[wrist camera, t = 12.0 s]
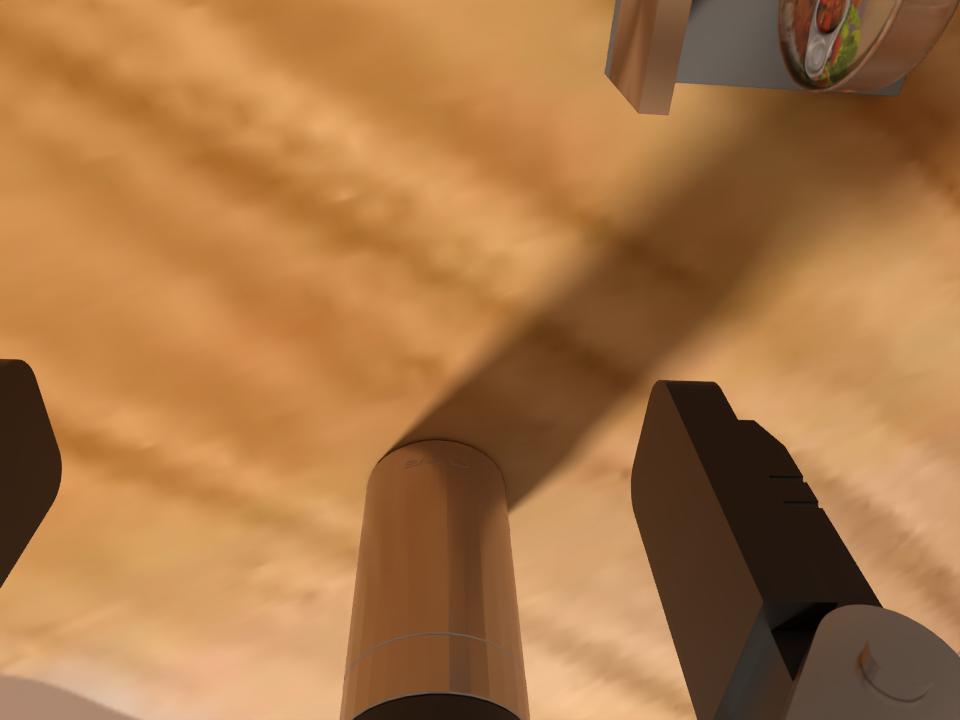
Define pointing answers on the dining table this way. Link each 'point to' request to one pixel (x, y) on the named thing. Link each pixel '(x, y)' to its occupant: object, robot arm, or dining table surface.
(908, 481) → the dining table surface
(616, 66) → the walls
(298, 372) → the dining table surface
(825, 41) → the tin
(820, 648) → the robot arm
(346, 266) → the dining table surface
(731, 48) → the mat
